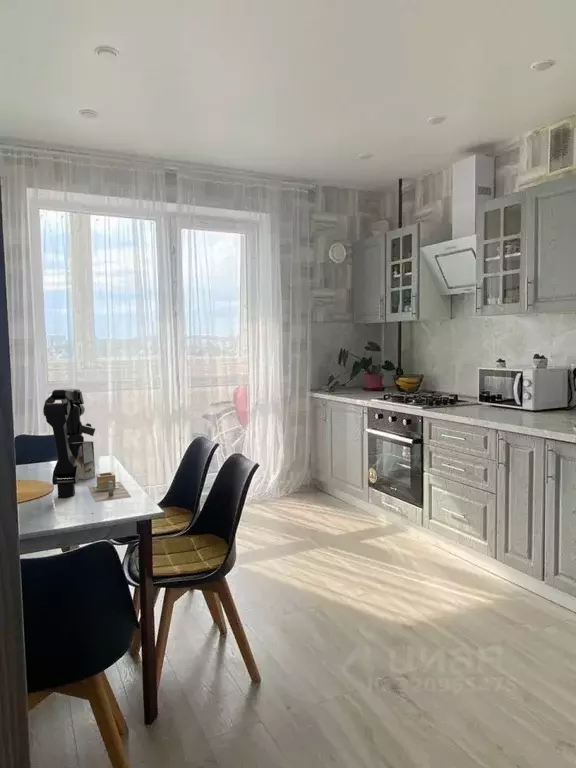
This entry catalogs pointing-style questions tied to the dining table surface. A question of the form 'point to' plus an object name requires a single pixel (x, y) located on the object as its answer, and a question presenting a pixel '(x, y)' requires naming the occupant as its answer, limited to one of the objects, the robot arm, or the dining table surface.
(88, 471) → the coffee box
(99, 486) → the collar
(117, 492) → the board
